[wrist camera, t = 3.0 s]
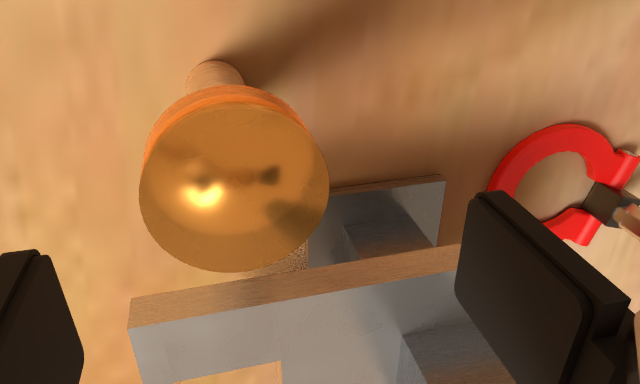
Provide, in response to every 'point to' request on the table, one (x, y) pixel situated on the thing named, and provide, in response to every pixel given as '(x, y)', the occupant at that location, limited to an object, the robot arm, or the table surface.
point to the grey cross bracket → (332, 305)
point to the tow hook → (602, 167)
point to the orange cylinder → (231, 175)
